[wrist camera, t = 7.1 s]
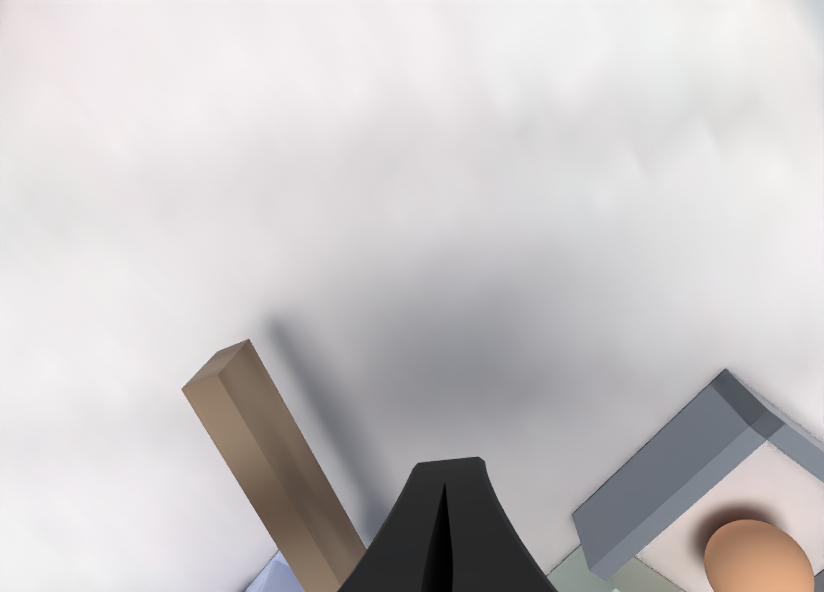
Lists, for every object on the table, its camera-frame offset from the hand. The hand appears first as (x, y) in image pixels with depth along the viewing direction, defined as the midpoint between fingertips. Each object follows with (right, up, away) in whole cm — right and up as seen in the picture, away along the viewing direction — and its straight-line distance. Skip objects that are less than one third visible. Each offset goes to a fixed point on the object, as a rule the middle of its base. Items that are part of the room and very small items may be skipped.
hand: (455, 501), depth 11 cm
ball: (+12, -6, +10) cm, 17 cm away
